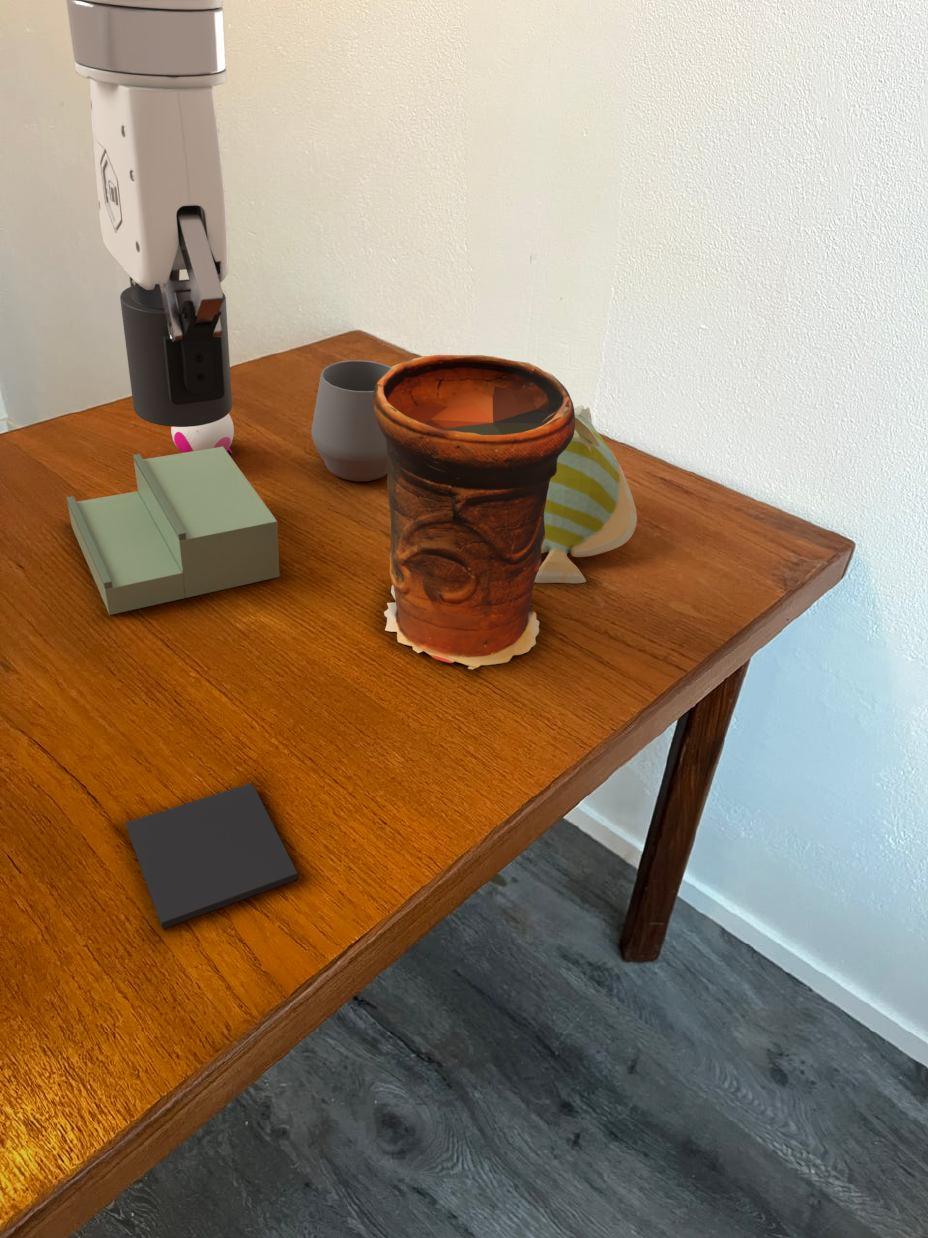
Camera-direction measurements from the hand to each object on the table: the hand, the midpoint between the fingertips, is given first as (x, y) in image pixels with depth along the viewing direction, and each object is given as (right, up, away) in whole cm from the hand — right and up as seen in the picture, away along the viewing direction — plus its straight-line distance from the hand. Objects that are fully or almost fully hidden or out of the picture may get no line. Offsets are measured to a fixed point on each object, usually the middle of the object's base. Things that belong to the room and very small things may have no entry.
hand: (180, 375), depth 60 cm
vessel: (+17, -15, +19) cm, 30 cm away
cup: (+7, 0, +38) cm, 39 cm away
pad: (+2, -29, -2) cm, 29 cm away
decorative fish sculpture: (+26, -7, +32) cm, 41 cm away
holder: (0, -2, +1) cm, 2 cm away
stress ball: (-9, +1, +38) cm, 39 cm away
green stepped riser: (-7, -9, +24) cm, 27 cm away
